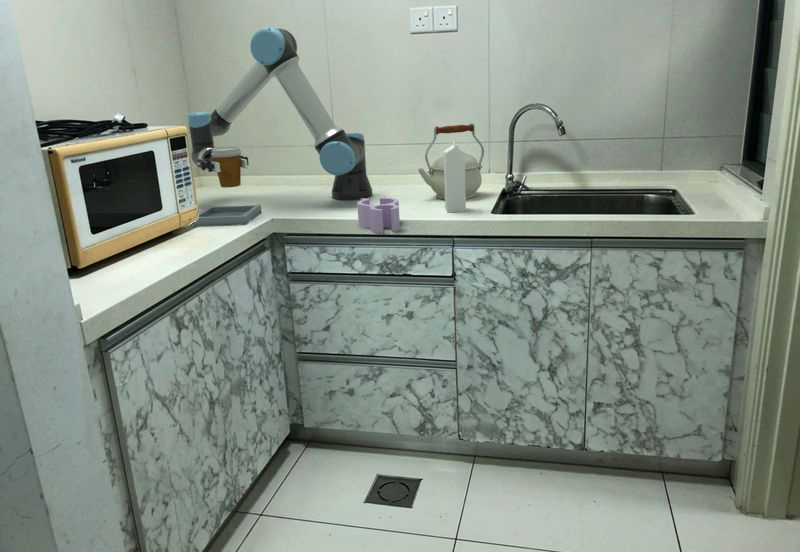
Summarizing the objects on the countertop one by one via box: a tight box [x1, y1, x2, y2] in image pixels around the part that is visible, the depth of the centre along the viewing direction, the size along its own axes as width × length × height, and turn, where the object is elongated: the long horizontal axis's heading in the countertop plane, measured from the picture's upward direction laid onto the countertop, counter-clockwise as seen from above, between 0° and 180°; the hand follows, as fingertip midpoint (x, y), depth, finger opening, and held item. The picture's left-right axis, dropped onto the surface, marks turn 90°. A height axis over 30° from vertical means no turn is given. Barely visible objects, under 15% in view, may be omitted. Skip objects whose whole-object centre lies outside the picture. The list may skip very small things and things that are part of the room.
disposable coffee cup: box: [211, 146, 242, 189], centre depth 213 cm, size 10×10×12 cm
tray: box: [190, 204, 262, 227], centre depth 216 cm, size 18×18×3 cm
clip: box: [356, 196, 401, 234], centre depth 197 cm, size 20×12×7 cm, turn 14°
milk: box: [443, 140, 467, 213], centre depth 209 cm, size 6×6×22 cm
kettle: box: [417, 123, 485, 201], centre depth 231 cm, size 25×18×25 cm
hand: (232, 165), depth 208 cm, fingers closed on disposable coffee cup, 8 cm apart
